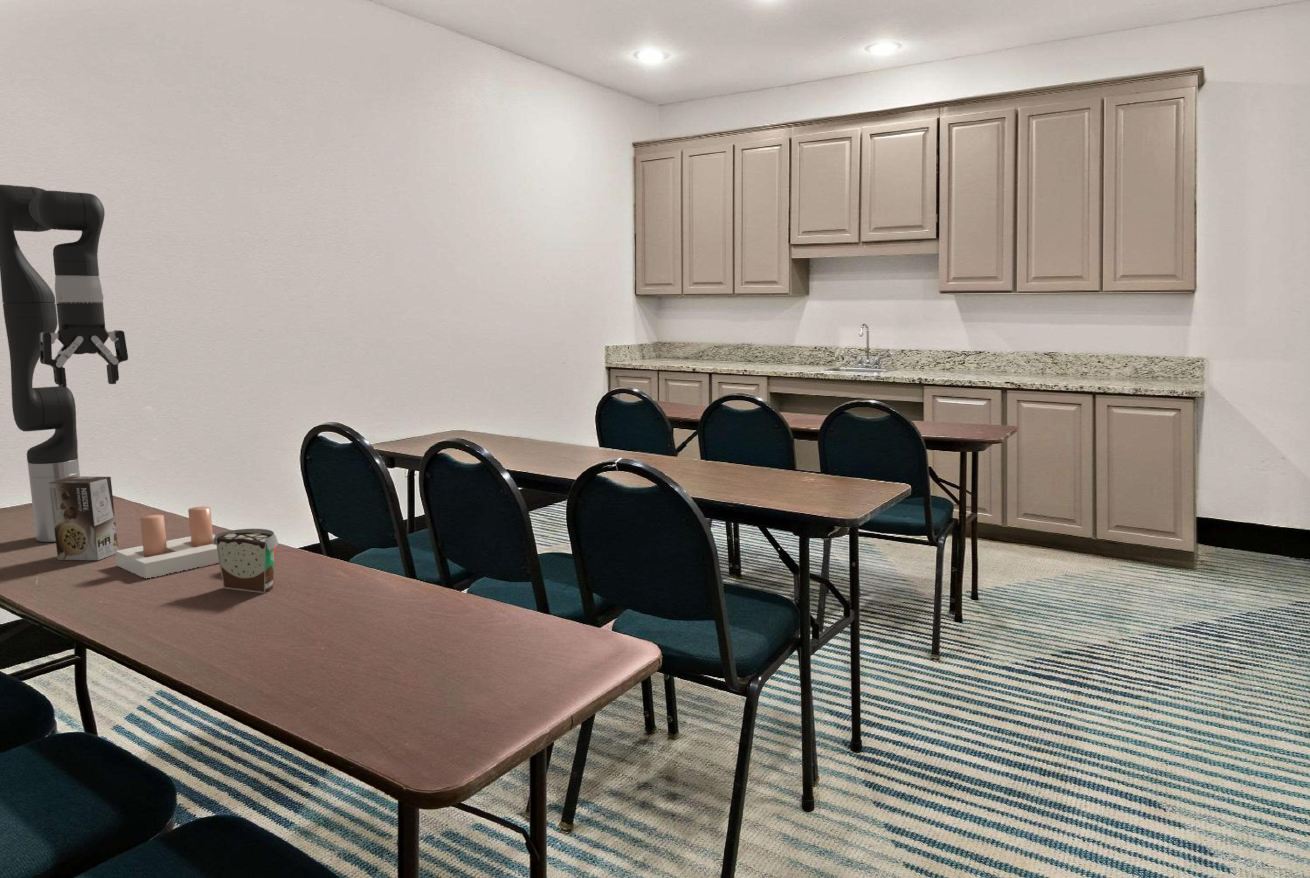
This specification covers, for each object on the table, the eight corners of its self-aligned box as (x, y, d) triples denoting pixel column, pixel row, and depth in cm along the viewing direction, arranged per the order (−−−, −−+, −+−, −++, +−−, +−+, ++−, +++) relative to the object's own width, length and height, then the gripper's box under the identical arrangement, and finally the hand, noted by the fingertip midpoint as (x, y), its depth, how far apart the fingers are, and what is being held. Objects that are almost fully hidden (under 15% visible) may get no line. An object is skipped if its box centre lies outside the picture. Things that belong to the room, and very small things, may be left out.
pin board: (117, 565, 175) (112, 516, 173) (210, 546, 189) (206, 500, 187) (146, 579, 166) (141, 526, 165) (241, 557, 180) (238, 509, 178)
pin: (141, 567, 174) (136, 517, 172) (163, 562, 177) (158, 513, 175) (150, 571, 171) (145, 520, 170) (171, 566, 174) (167, 516, 173)
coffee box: (120, 552, 184) (112, 476, 182) (98, 561, 178) (89, 482, 176) (79, 551, 185) (71, 475, 183) (55, 560, 179) (47, 481, 176)
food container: (296, 584, 163) (292, 530, 161) (271, 594, 157) (267, 539, 156) (242, 577, 167) (238, 525, 165) (217, 587, 161) (212, 533, 160)
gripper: (113, 300, 176) (120, 381, 179) (29, 300, 166) (38, 387, 168) (128, 300, 172) (135, 384, 174) (43, 300, 161) (52, 389, 163)
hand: (87, 385), depth 171 cm, fingers open, 8 cm apart
